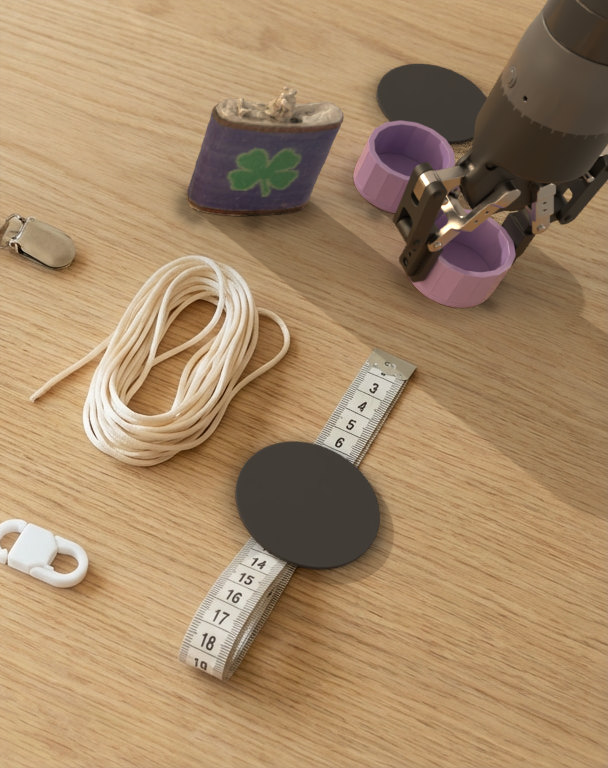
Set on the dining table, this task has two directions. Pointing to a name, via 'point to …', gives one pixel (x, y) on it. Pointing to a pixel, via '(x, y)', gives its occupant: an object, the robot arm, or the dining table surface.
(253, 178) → the flask
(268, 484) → the disc
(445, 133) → the coaster back
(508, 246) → the dish
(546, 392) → the dining table surface
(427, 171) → the robot arm
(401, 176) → the dish
